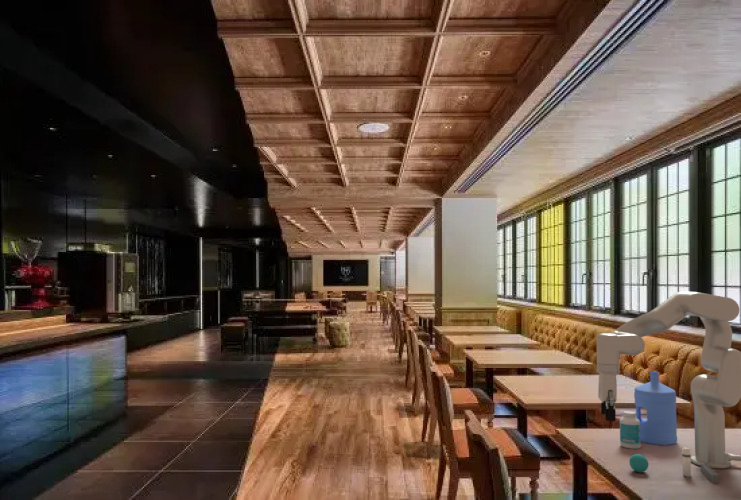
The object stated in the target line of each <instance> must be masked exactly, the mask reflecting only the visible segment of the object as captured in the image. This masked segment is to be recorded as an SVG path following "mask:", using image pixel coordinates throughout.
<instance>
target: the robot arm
mask: <svg viewBox="0 0 741 500" xmlns="http://www.w3.org/2000/svg"><path fill="white" fill-rule="evenodd" d="M739 314H740V305H739V304H738V302H737V301H736V300H735V299H733V298H731V297H728V296H727V297H726V296H720V295H716V294H710V293H704V292H698V291H678V292H676V293H674V294H673V295H670V296H669V297H668V298H666V299H665V300H664V301H663V302H661V303H660V304H659V305H657V306H656V307H654V308H653V309H652V310H650V311H649V312H646V313H643V314H641V315H639V316H638V317H635V318H633V319H631V320H629V321H627V322H624V324H622V325H620V326H618V327H617V329H616V330H614V331H613V332H612V333H608V332H603V333H597V335H596V373H598V391H597V392H598V393H597V395H598V396H597V397H598V399H599V400H600V402H601V403H600V413H601V415H604V416H605V417H604V419H605V421H606V422H616V416H617V415H616V402H617V397H618V396H617V392H618V389H617V388H618V387H617V385H618V383H617V375H619V374H620V373H621V371H620V370H621V369H620V366H621V365H620V360H621V359H620V356H621V355H626V356H627V355H628V356H637V355H640V354H641V353H642V352H643V351H644V350H645V348H646V344H645V341H644V339H643V338H644V337H646V336H649V335H650V336H651V335H656V334H661V333H664V332H667V331H669V330H670V329H671V328H673V327H674V326H675V325H676V324H678V323H679V322H681V321H682V320H684V319H685V318H686V317H688V316H690V317H699V318H700V320H701V322H702V324H703V326H704V329H705V330H704V331H705V333H704V334H705V335H704V339H703V340H704V341H703V345H702V350H701V355H700V364H701V366H702V368H704V370H707V371H709V372H713V373H717V374H718V375H717V376H716V375H712V374H706V373H705V374H698V375H696V376H695V377H694V378H693V379H692V380H691V382H690V392H691V398H692V401H693V413H694V415H693V416H694V418H693V420H694V449H695V450H694V453H695V454H694V455H691V457H690V462H692V464H695V465H697V466H700V467H701V464H707V465H708V466H709V467H710V468H711V469H728V468H730V467H731V466H732V463H731V461H734V462H735V461H736V462H741V455H740V454H739V455H737V454H735V453H728V452H727V451H726V430H725V429H726V426H725V425H726V423H725V422H726V421H725V420H726V419H725V417H726V416H725V411H724V408H723V407H726V408H731V407H734V406H736V405H737V404H738V403H739V402H740V400H741V351H740V350H738V349H735V348H732V340H733V329H732V327H731V324H730V322H732V321H734V320H736V318H738V317H739Z"/></svg>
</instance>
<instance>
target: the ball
mask: <svg viewBox="0 0 741 500" xmlns="http://www.w3.org/2000/svg"><path fill="white" fill-rule="evenodd" d="M629 465H630V468H631V469H632V470H633V471H634V472H635V473H643V472H644V473H645V472H646V471H647V470H648V468H649V461H648V459H647V457H646V456H644V455H643V454H640V453H635V454H632V455H631V456H630V459H629Z"/></svg>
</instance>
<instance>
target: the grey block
mask: <svg viewBox="0 0 741 500" xmlns="http://www.w3.org/2000/svg"><path fill="white" fill-rule="evenodd" d="M700 472H701V473H702V474H703V475H704V476H705V477H706V478H707V479H708V480H709V481H710V483H712V484H720V476H719V474H718V473H717V472H716V471H715V470H714V468H710V467H709V466H708V465H707V464H701V466H700Z"/></svg>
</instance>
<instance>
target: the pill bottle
mask: <svg viewBox="0 0 741 500" xmlns="http://www.w3.org/2000/svg"><path fill="white" fill-rule="evenodd" d="M622 415H623V416H622V417H620V418H619V444H620V446H621V447H622V448H624V449H629V450H630V449H631V450H633V449H634V450H636V449H637V450H638V449H640V448H641V441H640V421H639V419H637V418H636V411H631V410H624V411H623V413H622Z"/></svg>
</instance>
